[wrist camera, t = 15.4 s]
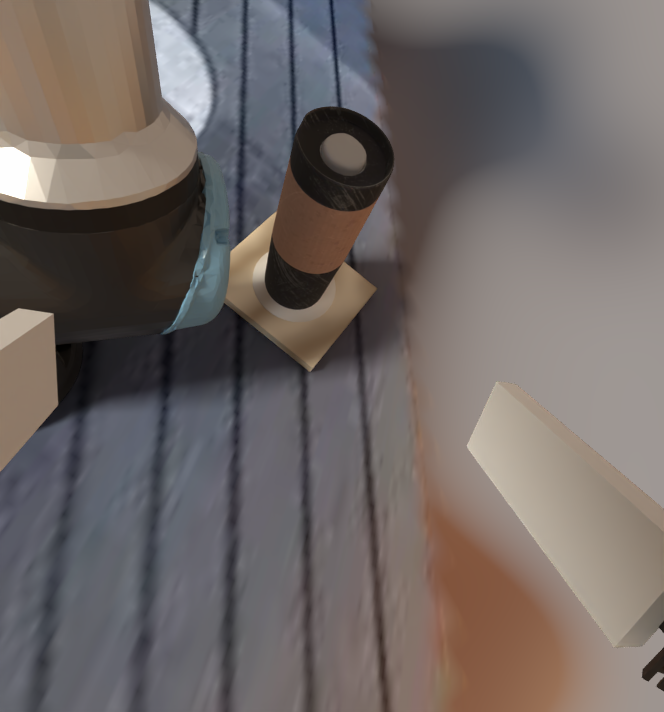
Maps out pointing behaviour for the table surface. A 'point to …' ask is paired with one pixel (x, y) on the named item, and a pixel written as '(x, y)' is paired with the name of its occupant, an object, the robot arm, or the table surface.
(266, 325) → the coaster board
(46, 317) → the robot arm
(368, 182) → the travel mug
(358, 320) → the table surface
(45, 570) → the table surface
